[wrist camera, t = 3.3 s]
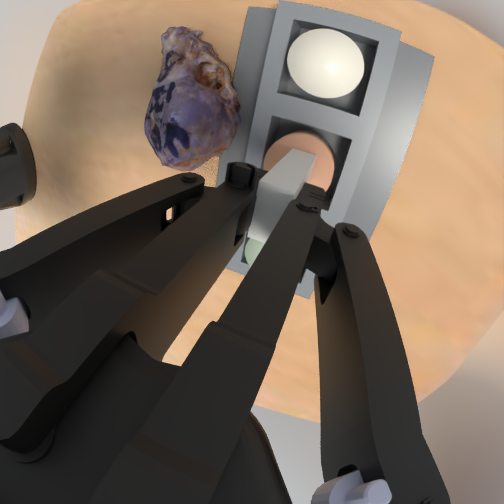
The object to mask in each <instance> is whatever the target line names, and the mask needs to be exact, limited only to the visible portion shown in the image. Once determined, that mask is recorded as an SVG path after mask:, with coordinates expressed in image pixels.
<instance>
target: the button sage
mask: <svg viewBox="0 0 504 504" xmlns="http://www.w3.org/2000/svg"><path fill="white" fill-rule="evenodd" d="M264 244H265V243H263V242H260V241H257V240H255V239H252V238H250V239H249V240H248V242H247V244H246V247H245V257H246V260H247V263H248V264H249V266H250V267H251V266H252V264H253V262H254V261H255V259H256V257H257V256H258V254H259V252H260V251H261V249H262V247H263V246H264Z"/></svg>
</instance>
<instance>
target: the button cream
mask: <svg viewBox="0 0 504 504" xmlns="http://www.w3.org/2000/svg"><path fill="white" fill-rule="evenodd" d="M287 64H288V69H289V72H290V75H291V77H292V78H293V80H294V81H295V83H296V84H297V85H298V86H299V87H300V88H302V89H303V90H304V91H306V92H307V93H309V94H311V95H314V96H317V97H321V98H337V97H341V96H344V95H346V94H348V93H350V92H351V91H353V90H354V89H355V88H356V87H357V85H358V84H359V83H360V81H361V79H362V76H363V73H364V60H363V56H362V53H361V51H360V49H359V48H358V46H357V45H356V44H355V43H354V42H353V41H352V40H351V39H350V38H349V37H348V36H346V35H344V34H343V33H340V32H338V31H335V30H331V29H314V30H310V31H308V32H305V33H303V34H302V35H300V36H299V37H298V38H297V39H296V40H295V41H294V42H293V44H292V45H291V47H290V49H289V52H288V57H287Z"/></svg>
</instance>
